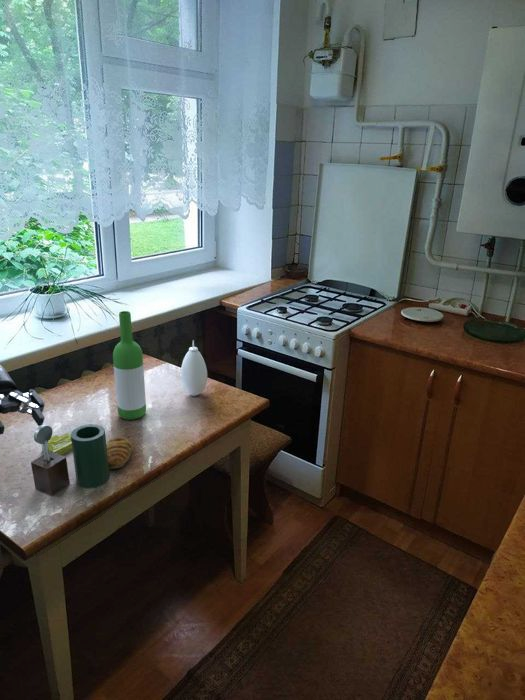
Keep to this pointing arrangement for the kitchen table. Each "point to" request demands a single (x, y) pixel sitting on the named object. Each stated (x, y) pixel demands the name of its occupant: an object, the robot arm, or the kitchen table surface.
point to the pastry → (118, 452)
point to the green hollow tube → (90, 455)
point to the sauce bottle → (193, 372)
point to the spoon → (44, 439)
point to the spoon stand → (50, 474)
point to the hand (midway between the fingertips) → (22, 427)
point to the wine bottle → (129, 372)
